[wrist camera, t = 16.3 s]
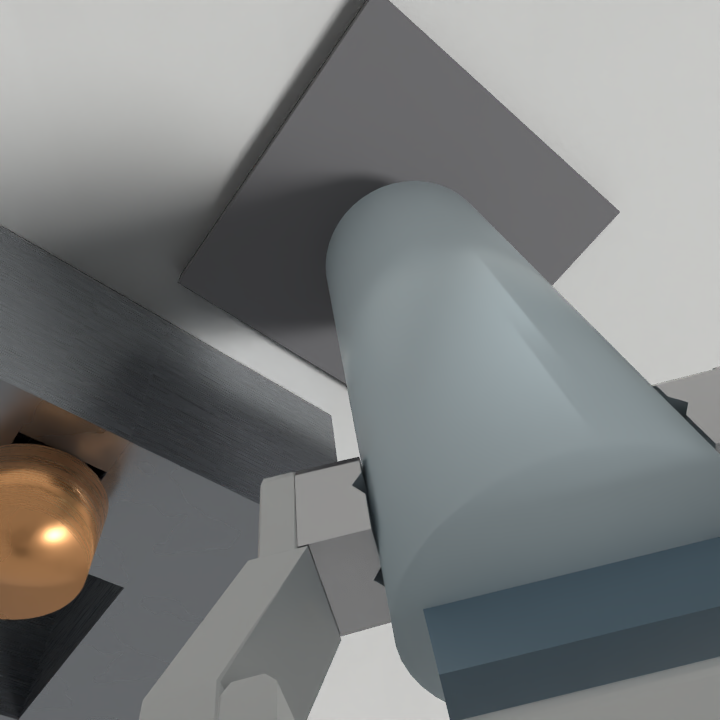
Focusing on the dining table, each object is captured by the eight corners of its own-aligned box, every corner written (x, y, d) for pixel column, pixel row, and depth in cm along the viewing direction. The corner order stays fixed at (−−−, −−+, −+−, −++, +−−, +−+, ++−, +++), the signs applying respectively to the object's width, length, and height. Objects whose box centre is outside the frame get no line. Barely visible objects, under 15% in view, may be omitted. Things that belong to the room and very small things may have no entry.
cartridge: (480, 161, 16) (859, 446, 6) (498, 318, 18) (796, 732, 8) (306, 204, 16) (364, 567, 6) (346, 356, 18) (440, 818, 8)
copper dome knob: (154, 416, 16) (116, 544, 12) (96, 495, 17) (45, 637, 13) (37, 356, 15) (-46, 478, 11) (-18, 445, 16) (-112, 584, 12)
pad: (610, 206, 19) (620, 211, 18) (416, 418, 22) (419, 428, 21) (373, -11, 16) (377, -11, 15) (180, 274, 18) (178, 282, 18)
